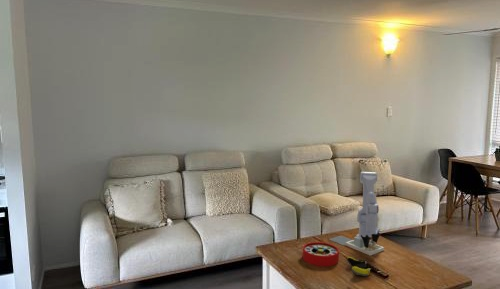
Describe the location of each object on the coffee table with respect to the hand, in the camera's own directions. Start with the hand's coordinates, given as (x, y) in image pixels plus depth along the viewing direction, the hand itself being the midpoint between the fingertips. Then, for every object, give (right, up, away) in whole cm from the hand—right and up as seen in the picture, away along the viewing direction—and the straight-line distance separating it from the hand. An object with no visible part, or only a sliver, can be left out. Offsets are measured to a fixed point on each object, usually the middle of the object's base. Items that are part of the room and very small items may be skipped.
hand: (370, 245), depth 222 cm
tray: (-2, -3, +4) cm, 5 cm away
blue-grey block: (-5, -2, +7) cm, 8 cm away
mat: (-13, -1, +15) cm, 20 cm away
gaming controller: (-15, -7, -26) cm, 31 cm away
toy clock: (-32, -5, -10) cm, 34 cm away
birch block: (0, -3, 0) cm, 3 cm away
